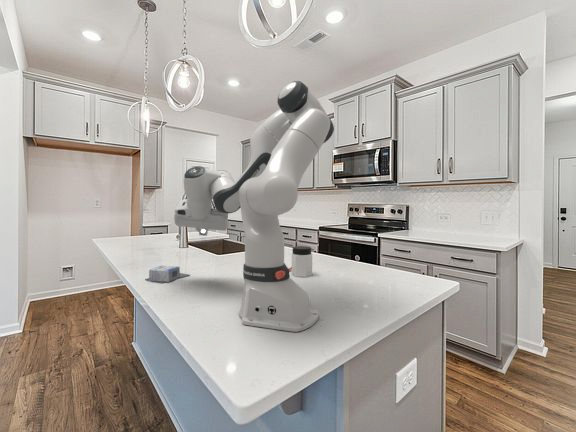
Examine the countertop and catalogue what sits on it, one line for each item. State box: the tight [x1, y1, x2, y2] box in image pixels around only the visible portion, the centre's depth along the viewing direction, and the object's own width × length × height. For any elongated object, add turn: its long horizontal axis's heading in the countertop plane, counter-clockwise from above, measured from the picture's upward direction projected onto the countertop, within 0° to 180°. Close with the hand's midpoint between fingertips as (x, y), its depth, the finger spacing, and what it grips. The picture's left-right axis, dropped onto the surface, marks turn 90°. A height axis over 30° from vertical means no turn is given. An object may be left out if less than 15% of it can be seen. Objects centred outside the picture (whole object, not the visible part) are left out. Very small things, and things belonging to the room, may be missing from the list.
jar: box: [291, 245, 313, 278], centre depth 129 cm, size 9×8×12 cm
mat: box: [145, 272, 191, 284], centre depth 122 cm, size 10×14×1 cm
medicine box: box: [148, 265, 181, 283], centre depth 119 cm, size 8×4×9 cm
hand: (203, 234), depth 120 cm, fingers closed
